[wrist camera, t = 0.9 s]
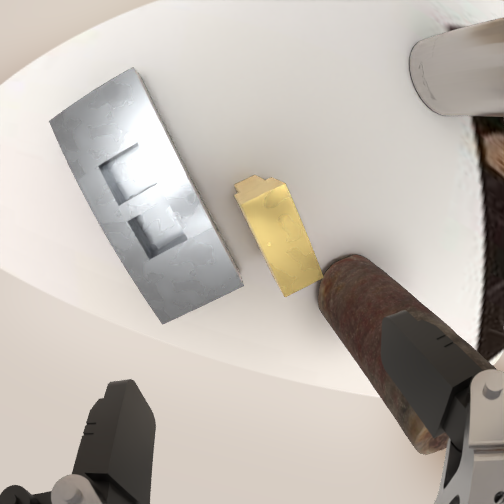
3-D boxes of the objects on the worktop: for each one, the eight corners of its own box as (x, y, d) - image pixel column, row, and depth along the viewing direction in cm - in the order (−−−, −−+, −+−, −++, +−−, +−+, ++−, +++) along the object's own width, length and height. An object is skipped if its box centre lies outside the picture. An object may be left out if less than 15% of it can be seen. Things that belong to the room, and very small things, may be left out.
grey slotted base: (140, 75, 22) (133, 67, 19) (239, 272, 29) (244, 285, 26) (63, 123, 22) (49, 121, 19) (165, 308, 29) (162, 324, 26)
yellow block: (259, 172, 27) (285, 183, 19) (290, 241, 29) (323, 277, 21) (228, 187, 27) (240, 204, 19) (261, 255, 29) (284, 297, 21)
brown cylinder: (367, 317, 34) (475, 441, 15) (308, 321, 32) (401, 476, 14) (381, 253, 31) (525, 358, 12) (319, 252, 30) (456, 389, 11)
